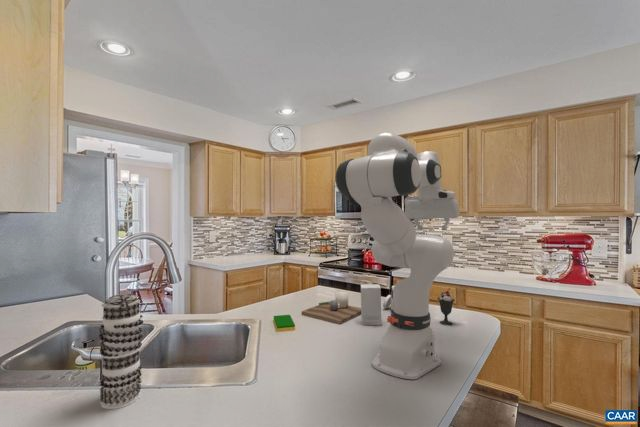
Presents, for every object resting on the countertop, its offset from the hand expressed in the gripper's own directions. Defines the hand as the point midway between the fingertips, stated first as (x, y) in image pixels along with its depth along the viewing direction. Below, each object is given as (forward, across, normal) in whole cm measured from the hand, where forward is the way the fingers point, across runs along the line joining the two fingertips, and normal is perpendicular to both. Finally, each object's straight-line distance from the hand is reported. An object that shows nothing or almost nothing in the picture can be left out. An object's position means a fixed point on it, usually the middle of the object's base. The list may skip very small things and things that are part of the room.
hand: (432, 230), depth 122 cm
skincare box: (+38, -24, -10) cm, 46 cm away
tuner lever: (+36, -44, -5) cm, 57 cm away
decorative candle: (+28, -44, -96) cm, 109 cm away
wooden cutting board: (+38, -44, -10) cm, 58 cm away
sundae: (+41, 0, +10) cm, 42 cm away
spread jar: (+40, -24, +12) cm, 49 cm away
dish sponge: (+35, -51, -35) cm, 71 cm away
